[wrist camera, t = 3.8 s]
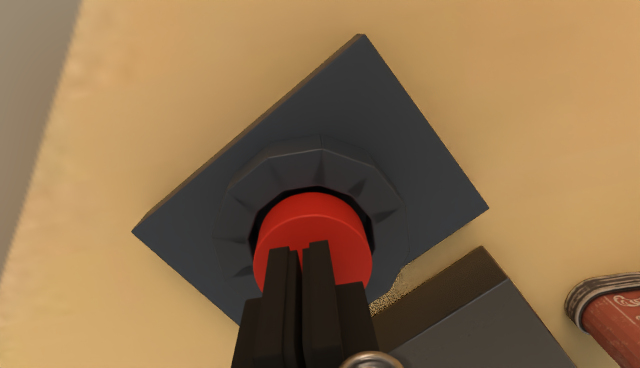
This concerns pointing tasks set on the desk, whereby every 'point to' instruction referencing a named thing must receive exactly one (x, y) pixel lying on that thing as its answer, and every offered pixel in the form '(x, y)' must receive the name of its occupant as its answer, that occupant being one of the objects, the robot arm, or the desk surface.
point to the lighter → (610, 314)
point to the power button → (316, 235)
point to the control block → (317, 180)
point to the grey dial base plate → (467, 322)
